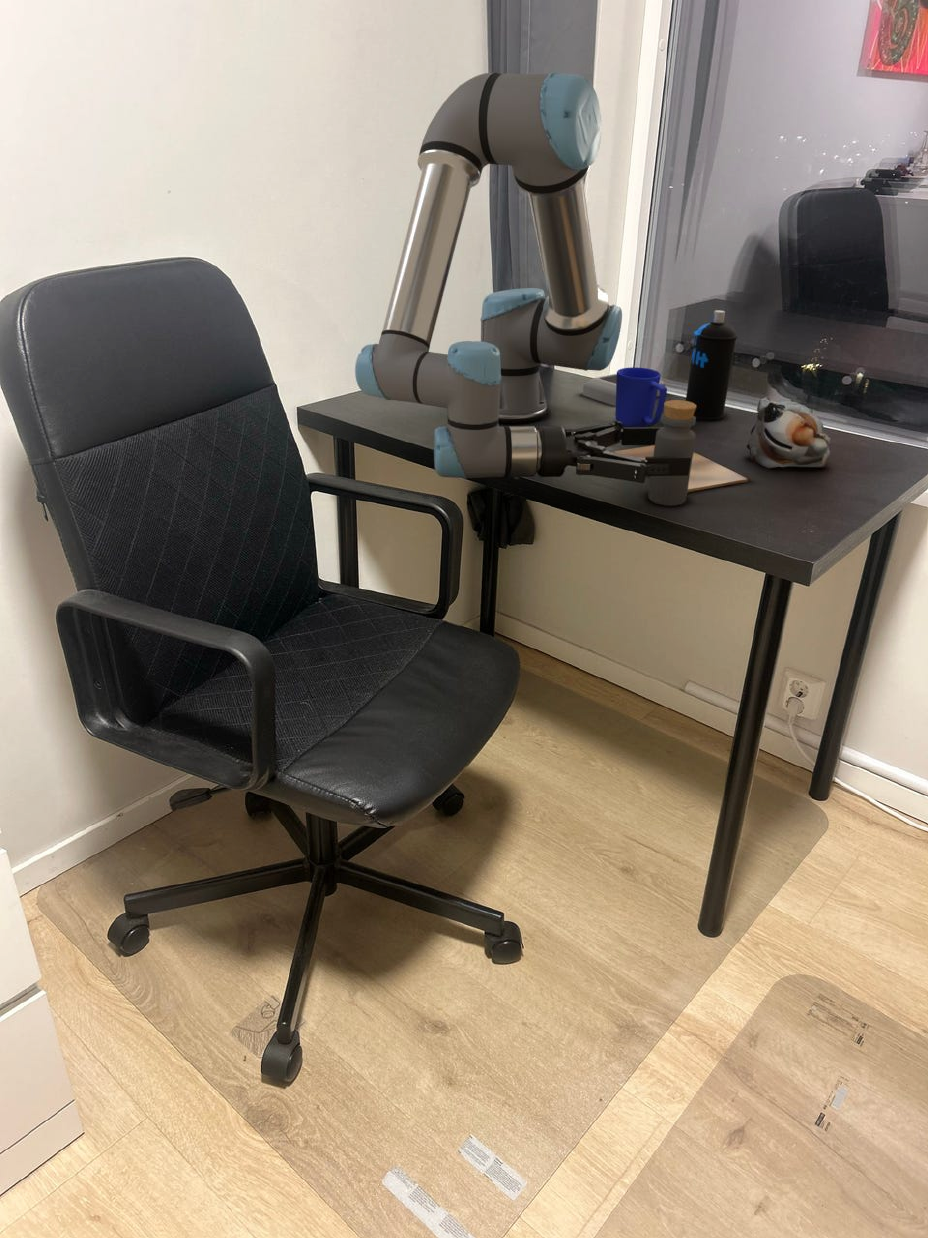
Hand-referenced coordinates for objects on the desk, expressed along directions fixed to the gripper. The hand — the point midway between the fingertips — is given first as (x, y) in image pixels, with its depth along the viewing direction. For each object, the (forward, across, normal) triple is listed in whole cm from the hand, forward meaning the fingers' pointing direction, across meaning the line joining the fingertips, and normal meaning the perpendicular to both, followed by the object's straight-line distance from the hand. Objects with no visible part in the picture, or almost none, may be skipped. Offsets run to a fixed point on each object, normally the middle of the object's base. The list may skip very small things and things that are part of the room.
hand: (675, 450), depth 133 cm
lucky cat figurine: (+25, -15, -8) cm, 31 cm away
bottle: (0, 0, -8) cm, 8 cm away
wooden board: (+6, -14, -8) cm, 17 cm away
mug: (+5, -36, -8) cm, 37 cm away
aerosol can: (+20, -44, -8) cm, 49 cm away
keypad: (+7, -58, -8) cm, 59 cm away
